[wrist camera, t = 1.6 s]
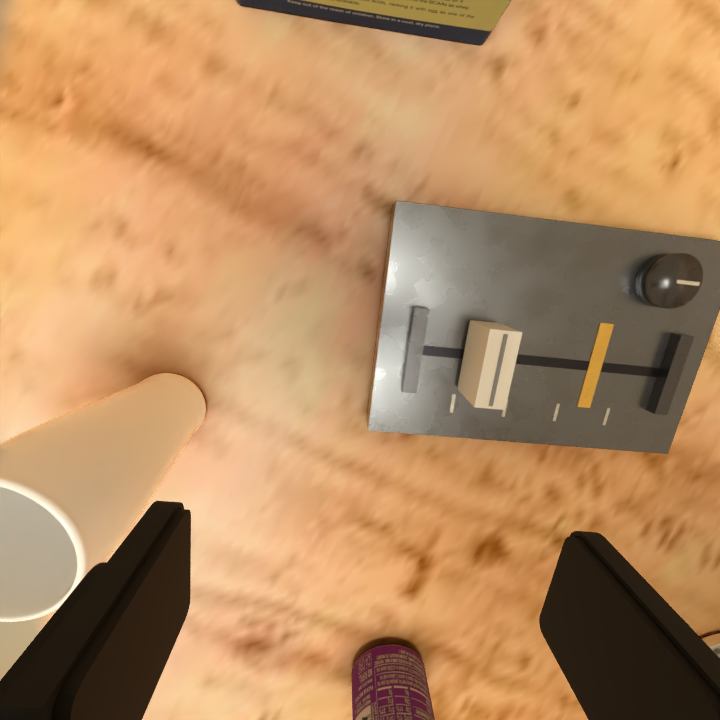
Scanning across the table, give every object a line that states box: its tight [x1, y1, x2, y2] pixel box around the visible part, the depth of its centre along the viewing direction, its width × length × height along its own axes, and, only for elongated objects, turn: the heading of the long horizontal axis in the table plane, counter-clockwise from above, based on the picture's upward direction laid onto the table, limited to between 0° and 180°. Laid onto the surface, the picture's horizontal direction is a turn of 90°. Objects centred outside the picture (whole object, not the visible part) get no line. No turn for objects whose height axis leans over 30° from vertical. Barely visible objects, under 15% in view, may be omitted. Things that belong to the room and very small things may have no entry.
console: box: [366, 201, 720, 454], centre depth 26 cm, size 24×16×3 cm, turn 84°
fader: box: [457, 320, 523, 410], centre depth 24 cm, size 2×5×4 cm, turn 174°
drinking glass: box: [0, 373, 206, 622], centre depth 21 cm, size 7×7×15 cm
